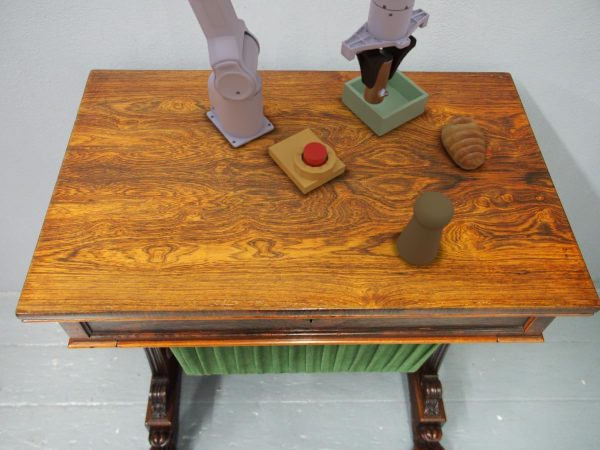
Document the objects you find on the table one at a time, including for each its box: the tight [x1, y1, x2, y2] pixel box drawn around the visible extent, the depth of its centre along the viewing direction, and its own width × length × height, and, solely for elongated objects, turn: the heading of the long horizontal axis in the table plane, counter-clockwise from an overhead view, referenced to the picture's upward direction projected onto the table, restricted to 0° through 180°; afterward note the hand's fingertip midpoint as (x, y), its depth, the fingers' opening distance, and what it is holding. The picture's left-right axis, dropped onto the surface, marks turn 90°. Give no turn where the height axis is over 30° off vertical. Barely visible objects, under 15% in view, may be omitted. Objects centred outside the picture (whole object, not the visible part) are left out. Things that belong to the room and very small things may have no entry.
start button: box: [303, 142, 327, 167], centre depth 76 cm, size 4×4×2 cm
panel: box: [268, 127, 346, 195], centre depth 79 cm, size 10×8×4 cm
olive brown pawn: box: [395, 190, 455, 266], centre depth 68 cm, size 6×6×11 cm
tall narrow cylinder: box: [364, 48, 393, 105], centre depth 76 cm, size 4×3×8 cm
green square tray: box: [341, 68, 430, 137], centre depth 87 cm, size 10×10×4 cm
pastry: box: [440, 116, 487, 170], centre depth 82 cm, size 9×7×4 cm
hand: (376, 80), depth 77 cm, fingers closed on tall narrow cylinder, 3 cm apart
